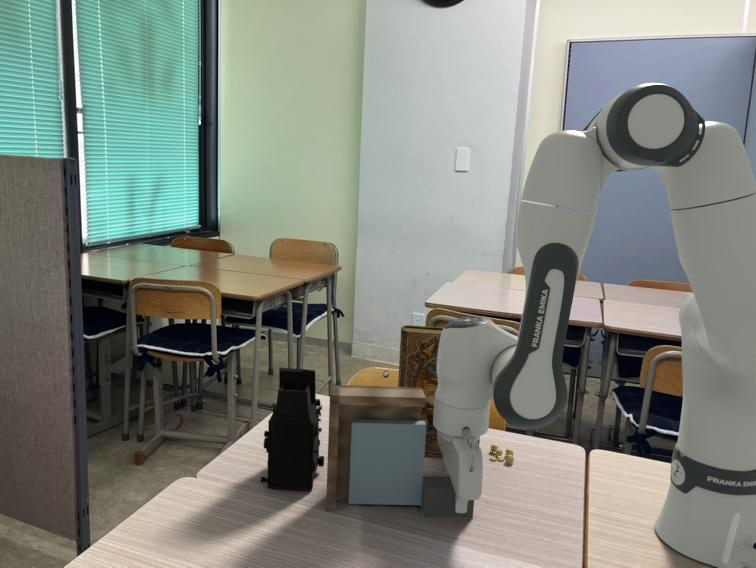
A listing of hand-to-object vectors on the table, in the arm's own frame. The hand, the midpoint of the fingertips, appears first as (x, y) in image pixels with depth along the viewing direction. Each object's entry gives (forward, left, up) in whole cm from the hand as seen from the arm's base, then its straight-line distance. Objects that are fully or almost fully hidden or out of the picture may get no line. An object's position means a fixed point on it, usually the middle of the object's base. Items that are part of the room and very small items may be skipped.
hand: (455, 496), depth 98 cm
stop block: (+1, 0, -3) cm, 3 cm away
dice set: (-13, -20, -3) cm, 24 cm away
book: (0, -22, -3) cm, 22 cm away
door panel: (+11, -2, -2) cm, 12 cm away
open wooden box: (+14, -2, -2) cm, 14 cm away
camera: (+27, -12, -3) cm, 29 cm away
